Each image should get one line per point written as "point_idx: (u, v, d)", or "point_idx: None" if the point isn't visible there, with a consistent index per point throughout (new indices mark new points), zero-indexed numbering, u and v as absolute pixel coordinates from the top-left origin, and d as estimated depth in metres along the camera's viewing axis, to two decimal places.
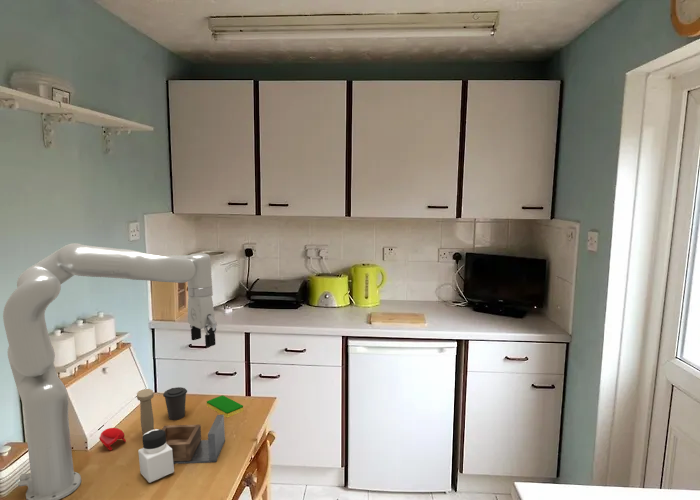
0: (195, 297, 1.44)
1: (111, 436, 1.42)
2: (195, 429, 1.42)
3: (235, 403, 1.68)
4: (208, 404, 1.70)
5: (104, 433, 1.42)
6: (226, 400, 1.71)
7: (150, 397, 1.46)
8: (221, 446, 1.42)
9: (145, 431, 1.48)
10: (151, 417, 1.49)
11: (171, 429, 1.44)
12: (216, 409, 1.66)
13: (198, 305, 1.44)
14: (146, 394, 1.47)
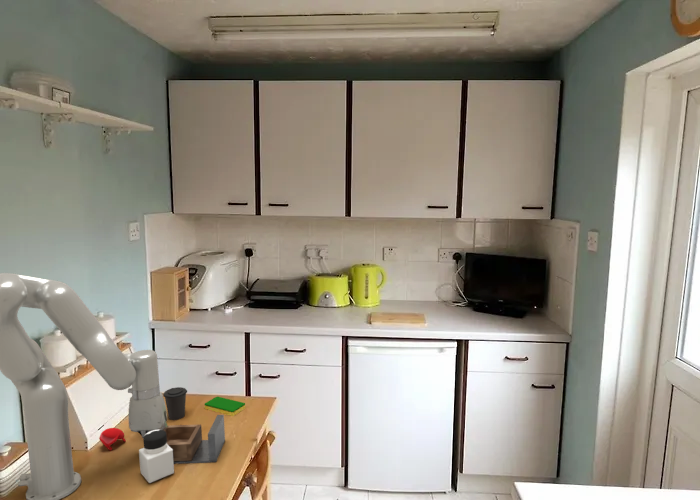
0: (150, 398, 1.35)
1: (111, 436, 1.42)
2: (196, 429, 1.42)
3: (236, 402, 1.69)
4: (207, 406, 1.68)
5: (104, 433, 1.42)
6: (225, 400, 1.71)
7: None
8: (221, 446, 1.42)
9: None
10: None
11: (172, 429, 1.44)
12: (218, 410, 1.66)
13: (154, 406, 1.36)
14: None
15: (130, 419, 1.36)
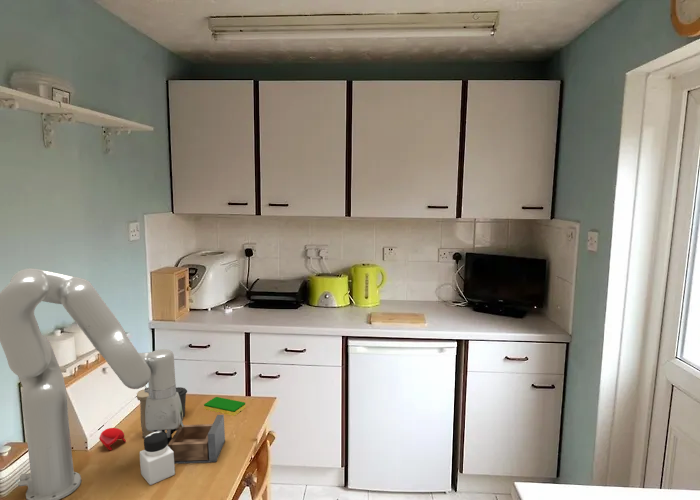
0: (167, 397, 1.35)
1: (111, 436, 1.42)
2: None
3: (236, 401, 1.70)
4: (206, 407, 1.68)
5: (104, 433, 1.42)
6: (224, 400, 1.71)
7: None
8: (221, 446, 1.42)
9: (145, 431, 1.48)
10: None
11: (188, 428, 1.44)
12: (218, 410, 1.65)
13: (171, 405, 1.36)
14: (146, 394, 1.47)
15: (147, 418, 1.36)
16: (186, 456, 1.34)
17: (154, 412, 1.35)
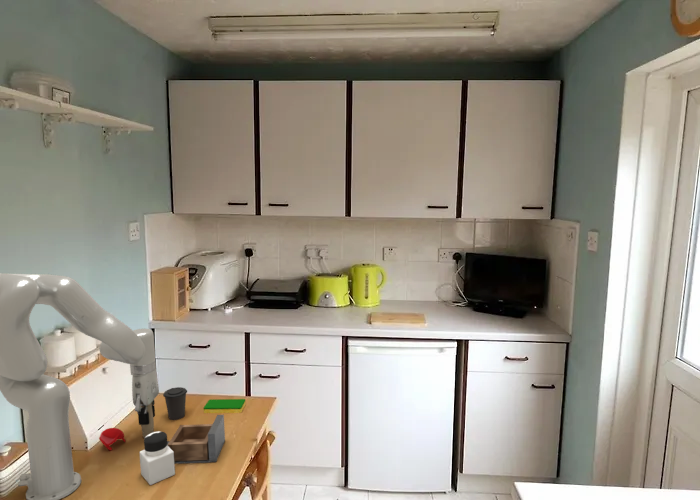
0: None
1: (111, 436, 1.42)
2: None
3: (235, 400, 1.71)
4: (207, 410, 1.65)
5: (104, 433, 1.42)
6: (221, 400, 1.71)
7: None
8: (221, 446, 1.42)
9: (145, 431, 1.48)
10: (151, 417, 1.49)
11: (187, 428, 1.44)
12: (222, 410, 1.65)
13: (155, 373, 1.51)
14: None
15: (147, 394, 1.44)
16: (186, 456, 1.34)
17: (150, 385, 1.46)
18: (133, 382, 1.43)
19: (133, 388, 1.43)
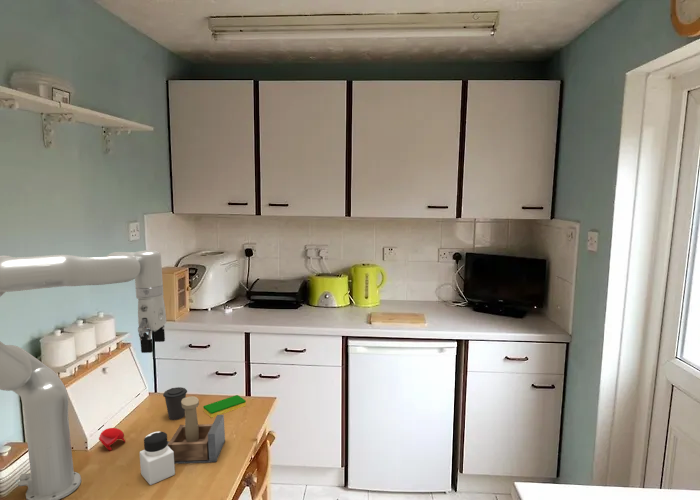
0: None
1: (111, 436, 1.42)
2: None
3: (229, 398, 1.73)
4: (215, 413, 1.63)
5: (104, 433, 1.42)
6: (218, 402, 1.69)
7: (196, 405, 1.36)
8: (221, 446, 1.42)
9: None
10: (196, 427, 1.39)
11: None
12: (229, 409, 1.66)
13: (162, 300, 1.40)
14: (191, 402, 1.37)
15: (154, 319, 1.33)
16: (186, 456, 1.34)
17: (158, 310, 1.35)
18: (139, 305, 1.32)
19: (139, 312, 1.32)
